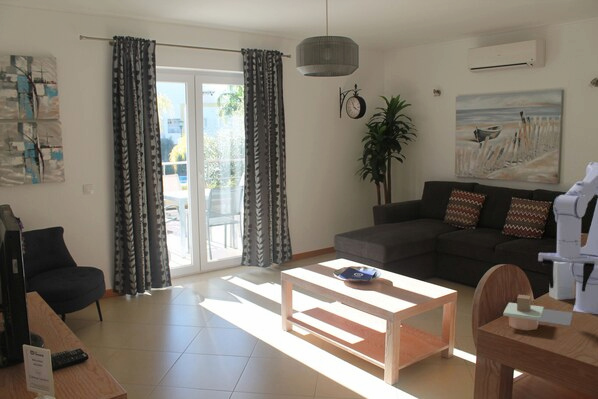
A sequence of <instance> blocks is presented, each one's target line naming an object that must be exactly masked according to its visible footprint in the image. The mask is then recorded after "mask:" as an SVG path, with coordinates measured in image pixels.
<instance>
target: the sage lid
mask: <svg viewBox="0 0 598 399" xmlns="http://www.w3.org/2000/svg"><path fill="white" fill-rule="evenodd" d="M516 299H517V300H516V302H508V304H507V305H506V307H505V309H504V311H503V313H502V314H503V316H505V317H509V316H511V317H518V318H526V319H533V320H540V319H541V316H542V313H543V310H544V309H545V306H541V305H534V304H533V305H532V304H531V302H532V301H531V299H532V298H531V295H527V294H518V295H517V298H516Z"/></svg>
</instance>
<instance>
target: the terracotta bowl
mask: <svg viewBox="0 0 598 399" xmlns="http://www.w3.org/2000/svg"><path fill="white" fill-rule="evenodd" d="M508 326H510V327H512V328H514V329H516V330H523V331H532V330H538V327H539V321H538V320H533V319H526V318H518V317H511V316H508Z"/></svg>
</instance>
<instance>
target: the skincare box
mask: <svg viewBox="0 0 598 399" xmlns="http://www.w3.org/2000/svg"><path fill="white" fill-rule="evenodd" d="M553 278H554V286H553V288H550V283H549V284H548V285H549V288H548V290H549V292H548V293H549V298H550V297H551V299H552V298H553V299H555V300H556V301H562V300H571V299H575V294H576V280H574V277H573V276H572V275H571V273H570V263H565V262H554V268H553Z"/></svg>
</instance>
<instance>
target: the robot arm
mask: <svg viewBox="0 0 598 399" xmlns="http://www.w3.org/2000/svg"><path fill="white" fill-rule="evenodd" d="M595 194H596V195H597V196H598V162H595V161H590V162H589V163H588V165H587V167H586V169H585V177H584V178H583V180H582V181H581V180H580V181H576V183H574V185H572V186H571V187H570V189H569V190H567V191H566V193H565V194H560V195H558V196H556V198H555V199H554V202H553V206H552V207H553V210H552V211H553V214H554V220H555V222H556V252H539V253H538V257H537V258H538V259H537V260H538V262H542V267H543V269H544V271H545V273H546V276H547V279H548V282H549V283H550V288H553V286H554V278H553V268H554V262H565V263H570V273H571V275H572V276H573V277H574V280H575V301H574V305H573V312H577V313H578V312H579V313H586V314H592V315H593V314H594V315H598V199H597V200H596V205H595V208H594V212H593V216H592V219H591V220H592V221H591V225H590V227H589V231H588V235H587V240H586V243H585V245H584V246H581V244H582V217H584V216H585V214H586V212H587V208H588V204H589V202H590V201H592V199H593V197H595Z"/></svg>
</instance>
